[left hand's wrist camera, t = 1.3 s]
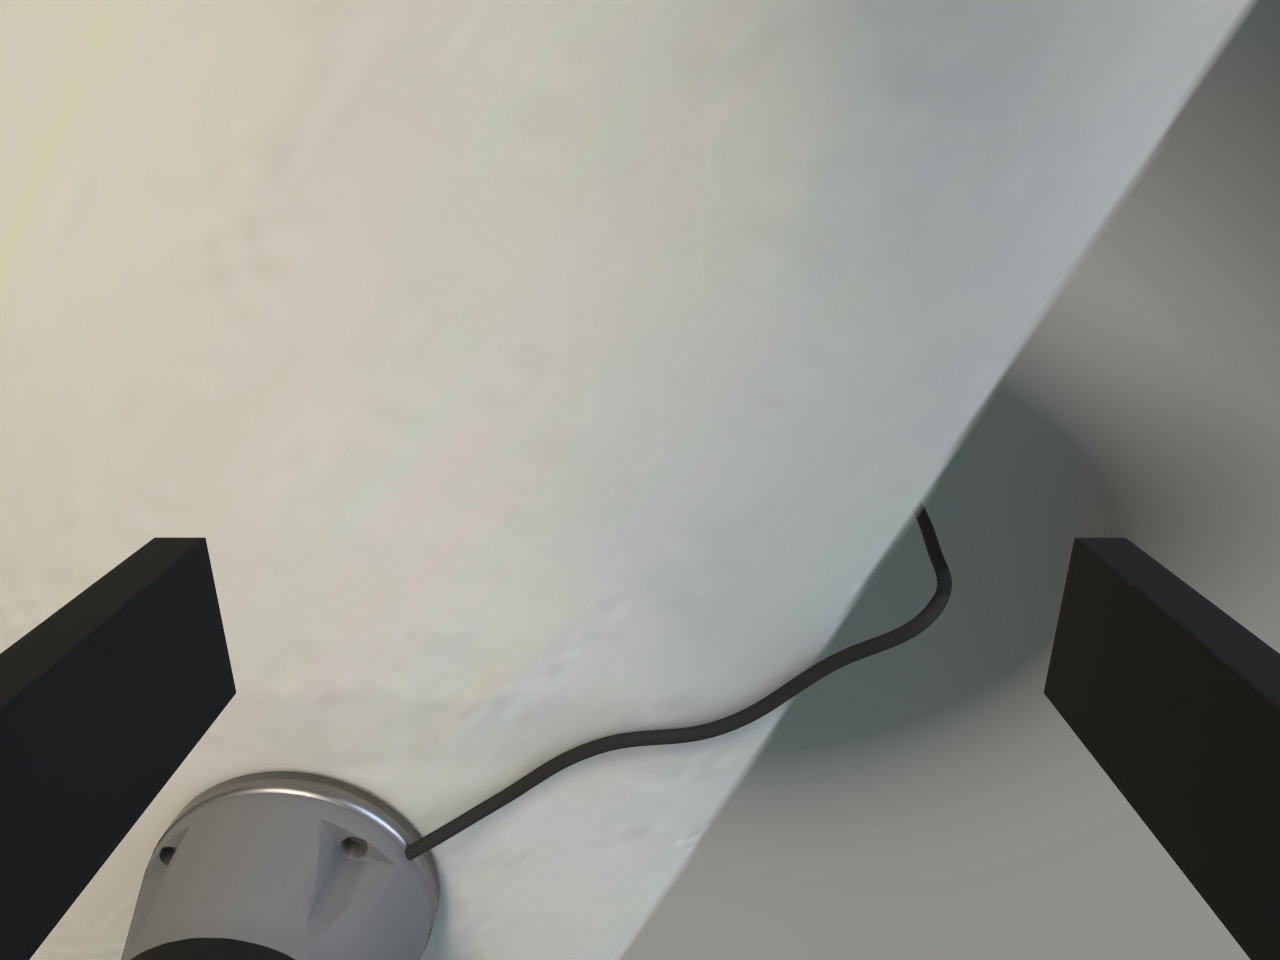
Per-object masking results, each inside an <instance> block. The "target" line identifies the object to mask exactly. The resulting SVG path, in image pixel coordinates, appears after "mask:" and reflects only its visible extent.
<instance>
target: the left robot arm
mask: <svg viewBox="0 0 1280 960" xmlns="http://www.w3.org/2000/svg"><path fill="white" fill-rule="evenodd" d="M235 694H236V689H235V684H234V679H233V674H232V669H231V664H230V659H229V654H228V649H227V644H226V639H225V634H224V629H223V624H222V619H221V614H220V609H219V604H218V599H217V594H216V589H215V584H214V579H213V574H212V569H211V564H210V559H209V554H208V549H207V543H206V538H154V539H152V540H151V541H150V542H148V543H147V544H146V545H144V546H143V547H142V548H140V549H139V550H138V551H136V552H135V553H134V554H132V555H131V556H130V557H128V558H127V559H126V560H124V561H123V562H122V563H121V564H119V565H118V566H117V567H115V568H114V569H113V570H111V571H110V572H109V573H107V574H106V575H105V576H103V577H102V578H101V579H99V580H98V581H97V582H95V583H94V584H93V585H91V586H90V587H89V588H87V589H86V590H85V591H83V592H82V593H81V594H79V595H78V596H77V597H75V598H74V599H73V600H71V601H70V602H69V603H67V604H66V605H65V606H63V607H62V608H61V609H59V610H58V611H57V612H55V613H54V614H53V615H51V616H50V617H49V618H47V619H46V620H45V621H44V622H42V623H41V624H40V625H38V626H37V627H36V628H34V629H33V630H32V631H30V632H29V633H28V634H26V635H25V636H24V637H22V638H21V639H20V640H18V641H17V642H16V643H14V644H13V645H12V646H10V647H9V648H8V649H6V650H5V651H4V652H2V653H1V654H0V960H29V959H30V958H31V957H32V955H33V954H34V953H35V952H36V950H37V949H38V948H39V946H40V945H41V944H42V942H43V941H44V940H45V939H46V937H47V936H48V935H49V933H50V932H51V931H52V930H53V928H54V927H55V926H56V924H57V923H58V922H59V921H60V919H61V918H62V917H63V915H64V914H65V913H66V912H67V910H68V909H69V908H70V906H71V905H72V904H73V903H74V901H75V900H76V899H77V897H78V896H79V895H80V893H81V892H82V891H83V890H84V888H85V887H86V886H87V884H88V883H89V882H90V881H91V879H92V878H93V877H94V875H95V874H96V873H97V872H98V870H99V869H100V868H101V866H102V865H103V864H104V863H105V861H106V860H107V859H108V857H109V856H110V855H111V854H112V852H113V851H114V850H115V848H116V847H117V846H118V845H119V843H120V842H121V841H122V839H123V838H124V837H125V835H126V834H127V833H128V832H129V830H130V829H131V828H132V826H133V825H134V824H135V823H136V821H137V820H138V819H139V817H140V816H141V815H142V814H143V812H144V811H145V810H146V808H147V807H148V806H149V805H150V803H151V802H152V801H153V799H154V798H155V797H156V796H157V794H158V793H159V792H160V790H161V789H162V788H163V786H164V785H165V784H166V783H167V781H168V780H169V779H170V777H171V776H172V775H173V774H174V772H175V771H176V770H177V768H178V767H179V766H180V765H181V763H182V762H183V761H184V759H185V758H186V757H187V756H188V754H189V753H190V752H191V750H192V749H193V748H194V747H195V745H196V744H197V743H198V741H199V740H200V739H201V737H202V736H203V735H204V734H205V732H206V731H207V730H208V728H209V727H210V726H211V725H212V723H213V722H214V721H215V719H216V718H217V717H218V716H219V714H220V713H221V712H222V710H223V709H224V708H225V707H226V705H227V704H228V703H229V701H230V700H231V699H232V698H233V696H234V695H235ZM1044 694H1045V695H1046V696H1047V697H1048V699H1049V700H1050V701H1051V703H1052V704H1053V705H1054V707H1055V708H1056V709H1057V710H1058V712H1059V713H1060V714H1061V716H1062V717H1063V718H1064V719H1065V721H1066V722H1067V723H1068V725H1069V726H1070V727H1071V728H1072V730H1073V731H1074V732H1075V734H1076V735H1077V736H1078V737H1079V739H1080V740H1081V741H1082V743H1083V744H1084V745H1085V747H1086V748H1087V749H1088V750H1089V752H1090V753H1091V754H1092V756H1093V757H1094V758H1095V759H1096V761H1097V762H1098V763H1099V765H1100V766H1101V767H1102V768H1103V770H1104V771H1105V772H1106V774H1107V775H1108V776H1109V777H1110V779H1111V780H1112V781H1113V783H1114V784H1115V785H1116V786H1117V788H1118V789H1119V790H1120V792H1121V793H1122V794H1123V796H1124V797H1125V798H1126V799H1127V801H1128V802H1129V803H1130V805H1131V806H1132V807H1133V808H1134V810H1135V811H1136V812H1137V814H1138V815H1139V816H1140V817H1141V819H1142V820H1143V821H1144V822H1145V824H1146V825H1147V826H1148V828H1149V829H1150V830H1151V832H1152V833H1153V834H1154V835H1155V837H1156V838H1157V839H1158V841H1159V842H1160V843H1161V845H1162V846H1163V847H1164V848H1165V850H1166V851H1167V852H1168V853H1169V855H1170V856H1171V857H1172V859H1173V860H1174V861H1175V863H1176V864H1177V865H1178V866H1179V868H1180V869H1181V870H1182V871H1183V873H1184V874H1185V875H1186V877H1187V878H1188V879H1189V881H1190V882H1191V883H1192V884H1193V886H1194V887H1195V888H1196V890H1197V891H1198V892H1199V893H1200V895H1201V896H1202V897H1203V899H1204V900H1205V901H1206V903H1207V904H1208V905H1209V906H1210V908H1211V909H1212V910H1213V912H1214V913H1215V914H1216V915H1217V917H1218V918H1219V919H1220V921H1221V922H1222V923H1223V924H1224V926H1225V927H1226V928H1227V929H1228V931H1229V932H1230V933H1231V935H1232V936H1233V937H1234V939H1235V940H1236V941H1237V942H1238V944H1239V945H1240V946H1241V948H1242V949H1243V950H1244V952H1245V953H1246V954H1247V955H1248V957H1249V958H1250V959H1251V960H1280V654H1279V653H1278V652H1276V651H1275V650H1274V649H1272V648H1271V647H1270V646H1268V645H1267V644H1266V643H1264V642H1263V641H1262V640H1260V639H1259V638H1258V637H1256V636H1255V635H1254V634H1252V633H1251V632H1250V631H1248V630H1247V629H1246V628H1244V627H1243V626H1242V625H1240V624H1239V623H1238V622H1236V621H1235V620H1234V619H1232V618H1231V617H1230V616H1229V615H1227V614H1226V613H1225V612H1223V611H1222V610H1221V609H1219V608H1218V607H1217V606H1215V605H1214V604H1213V603H1211V602H1210V601H1209V600H1207V599H1206V598H1205V597H1203V596H1202V595H1201V594H1199V593H1198V592H1197V591H1195V590H1194V589H1193V588H1191V587H1190V586H1189V585H1187V584H1186V583H1185V582H1183V581H1182V580H1181V579H1179V578H1178V577H1177V576H1175V575H1174V574H1173V573H1171V572H1170V571H1169V570H1167V569H1166V568H1165V567H1163V566H1162V565H1161V564H1159V563H1158V562H1157V561H1156V560H1154V559H1153V558H1151V557H1150V556H1149V555H1148V554H1146V553H1145V552H1144V551H1142V550H1141V549H1140V548H1138V547H1137V546H1136V545H1134V544H1133V543H1132V542H1130V541H1129V540H1128V539H1126V538H1075V539H1074V544H1073V549H1072V554H1071V559H1070V564H1069V569H1068V574H1067V579H1066V584H1065V589H1064V594H1063V599H1062V604H1061V609H1060V614H1059V619H1058V624H1057V629H1056V634H1055V639H1054V644H1053V649H1052V654H1051V659H1050V664H1049V669H1048V674H1047V679H1046V684H1045V689H1044Z"/></svg>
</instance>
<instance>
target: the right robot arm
mask: <svg viewBox="0 0 1280 960" xmlns="http://www.w3.org/2000/svg"><path fill="white" fill-rule="evenodd" d="M914 514H915V517H916V519H917V521H918V524H919V526H920V529H921V532H922V535H923V539H924V542H925V546H926V549H927V552H928V555H929V558H930V560H931V563H932V565H933V568H934V570H935V573H936V577H937V589H936V592H935V594H934V596H933V598H932V599H931V601H930V602H929V603H928V605H927V606H926V607H925V608H924V609H923V610H922V611H921V612H920V613H919V614H918V615H917V616H916V617H915V618H913V619H912V620H911V621H909V622H908V623H906V624H904V625H903V626H901V627H899V628H897V629H895V630H893V631H890V632H888V633H885V634H883V635H880V636H878V637H875V638H872V639H870V640H867V641H864V642H862V643H859V644H856V645H854V646H851V647H849V648H846V649H844V650H842V651H840V652H837V653H835V654H833V655H832V656H830V657H828V658H826V659H824V660H822V661H821V662H819V663H817V664H815V665H814V666H812V667H811V668H809V669H807V670H806V671H804V672H803V673H801V674H800V675H798V676H797V677H795V678H794V679H792V680H791V681H789V682H788V683H786V684H785V685H783V686H782V687H780V688H779V689H777V690H776V691H774V692H773V693H771V694H770V695H768V696H767V697H765V698H764V699H762V700H760V701H759V702H757V703H755V704H753V705H752V706H750V707H748V708H746V709H744V710H742V711H740V712H738V713H736V714H733V715H731V716H728V717H726V718H723V719H721V720H718V721H714V722H711V723H708V724H704V725H699V726H694V727H688V728H680V729H669V730H654V731H640V732H631V733H623V734H617V735H613V736H608V737H604V738H601V739H598V740H594V741H591V742H589V743H586V744H583V745H581V746H578V747H576V748H573V749H571V750H569V751H567V752H565V753H563V754H561V755H559V756H557V757H555V758H553V759H552V760H550V761H548V762H546V763H545V764H543V765H542V766H540V767H538V768H537V769H535V770H534V771H532V772H531V773H529V774H528V775H526V776H525V777H523V778H522V779H520V780H518V781H517V782H515V783H514V784H512V785H511V786H509V787H508V788H506V789H504V790H503V791H501V792H499V793H498V794H496V795H494V796H493V797H491V798H489V799H487V800H486V801H484V802H482V803H481V804H479V805H477V806H476V807H474V808H472V809H471V810H469V811H467V812H466V813H464V814H462V815H461V816H459V817H457V818H456V819H454V820H452V821H451V822H449V823H447V824H445V825H444V826H442V827H440V828H439V829H437V830H435V831H433V832H432V833H430V834H428V835H426V836H425V837H423V838H421V839H420V837H419V836H418V834H417V833H416V832H415V831H414V830H413V828H412V827H411V826H410V825H409V824H408V823H407V822H406V821H405V820H404V819H403V818H402V817H401V816H400V815H398V814H397V813H396V812H395V811H394V810H392V809H391V808H390V807H388V806H387V805H386V804H384V803H383V802H381V801H380V800H378V799H376V798H375V797H373V796H371V795H369V794H368V793H366V792H363V791H361V790H359V789H357V788H355V787H353V786H350V785H347V784H345V783H342V782H339V781H336V780H332V779H329V778H325V777H321V776H316V775H310V774H303V773H293V772H268V773H258V774H252V775H246V776H242V777H238V778H235V779H231V780H228V781H226V782H223V783H220V784H218V785H216V786H214V787H212V788H210V789H208V790H206V791H205V792H203V793H202V794H200V795H199V796H197V797H196V798H195V799H193V800H192V801H191V802H190V803H188V804H187V805H186V806H185V808H184V809H183V810H182V811H181V812H180V813H179V814H178V816H177V817H176V818H175V820H174V821H173V822H172V824H171V825H170V827H169V828H168V829H167V831H166V832H165V834H164V835H163V836H162V838H161V839H160V840H159V842H158V844H157V846H156V847H155V849H154V851H153V854H152V856H151V859H150V861H149V863H148V866H147V868H146V871H145V874H144V878H143V882H142V885H141V889H140V892H139V896H138V900H137V904H136V907H135V911H134V915H133V918H132V922H131V926H130V929H129V933H128V937H127V940H126V944H125V948H124V951H123V955H122V959H121V960H419V959H420V957H421V955H422V953H423V952H424V950H425V948H426V945H427V943H428V941H429V938H430V934H431V930H432V927H433V923H434V919H435V916H436V912H437V908H438V901H439V885H438V877H437V873H436V869H435V866H434V863H433V861H432V858H431V856H430V854H429V852H428V850H430V849H432V848H433V847H435V846H437V845H438V844H440V843H442V842H444V841H445V840H447V839H449V838H450V837H452V836H454V835H456V834H457V833H459V832H461V831H462V830H464V829H466V828H467V827H469V826H471V825H472V824H474V823H476V822H477V821H479V820H481V819H482V818H484V817H486V816H487V815H489V814H491V813H492V812H494V811H496V810H498V809H499V808H501V807H503V806H504V805H506V804H508V803H509V802H511V801H513V800H514V799H516V798H517V797H519V796H521V795H522V794H524V793H525V792H527V791H528V790H530V789H531V788H533V787H534V786H536V785H538V784H539V783H541V782H542V781H544V780H545V779H547V778H549V777H550V776H552V775H554V774H555V773H557V772H559V771H561V770H563V769H564V768H566V767H568V766H570V765H573V764H575V763H577V762H579V761H582V760H584V759H587V758H589V757H592V756H595V755H598V754H601V753H604V752H608V751H612V750H616V749H622V748H628V747H636V746H647V745H663V744H676V743H686V742H693V741H699V740H704V739H708V738H712V737H715V736H719V735H722V734H725V733H728V732H730V731H733V730H736V729H738V728H740V727H742V726H745V725H747V724H749V723H751V722H753V721H755V720H757V719H759V718H760V717H762V716H764V715H766V714H767V713H769V712H771V711H772V710H774V709H775V708H777V707H779V706H780V705H782V704H783V703H785V702H786V701H788V700H789V699H791V698H792V697H794V696H795V695H796V694H798V693H799V692H801V691H802V690H804V689H805V688H807V687H808V686H810V685H812V684H813V683H815V682H816V681H818V680H820V679H821V678H823V677H824V676H826V675H828V674H830V673H832V672H833V671H835V670H837V669H839V668H841V667H843V666H845V665H847V664H850V663H852V662H854V661H857V660H859V659H862V658H865V657H867V656H870V655H873V654H876V653H879V652H881V651H884V650H887V649H889V648H892V647H894V646H897V645H899V644H901V643H903V642H906V641H908V640H909V639H911V638H913V637H915V636H916V635H918V634H919V633H921V632H922V631H924V630H925V629H926V628H927V627H928V626H930V625H931V624H932V623H933V622H934V621H935V620H936V619H937V617H938V616H939V615H940V613H941V612H942V611H943V609H944V608H945V606H946V604H947V602H948V600H949V597H950V594H951V590H952V577H951V573H950V570H949V568H948V565H947V563H946V561H945V558H944V556H943V554H942V551H941V548H940V545H939V542H938V539H937V536H936V533H935V530H934V527H933V525H932V522H931V520H930V518H929V516H928V513H927V511H926V509H925V507H924V506H923V504H922V502H921V503H920V505H919V506H918V508H917V509H916V510H915V512H914Z"/></svg>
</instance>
